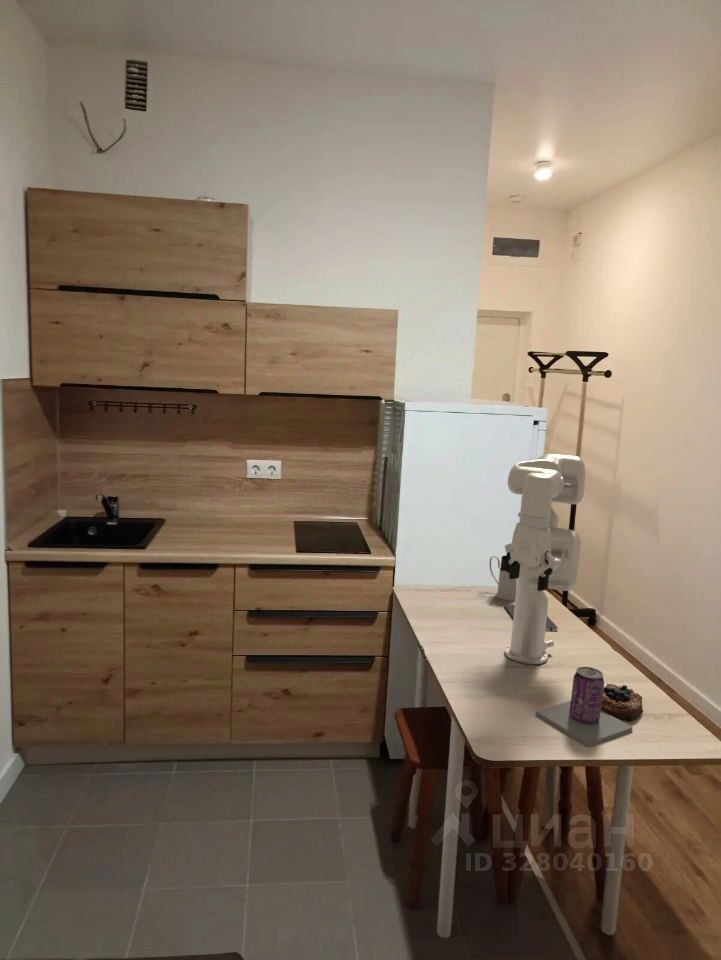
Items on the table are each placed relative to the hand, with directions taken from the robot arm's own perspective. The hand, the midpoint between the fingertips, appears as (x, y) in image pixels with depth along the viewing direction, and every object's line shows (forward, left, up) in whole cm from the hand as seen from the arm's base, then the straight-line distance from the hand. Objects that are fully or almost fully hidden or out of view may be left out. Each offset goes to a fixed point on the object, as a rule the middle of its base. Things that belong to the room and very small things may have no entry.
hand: (527, 584), depth 178 cm
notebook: (-42, -36, -30) cm, 63 cm away
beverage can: (-2, +21, -28) cm, 35 cm away
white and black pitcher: (-51, -60, -29) cm, 84 cm away
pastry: (-15, +20, -29) cm, 39 cm away
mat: (-1, +21, -29) cm, 36 cm away
